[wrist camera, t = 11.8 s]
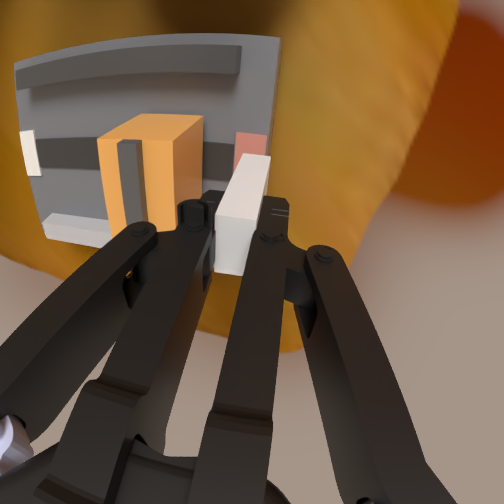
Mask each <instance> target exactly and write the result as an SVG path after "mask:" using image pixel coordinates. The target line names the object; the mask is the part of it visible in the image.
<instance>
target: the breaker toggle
mask: <svg viewBox="0 0 504 504" xmlns="http://www.w3.org/2000/svg"><path fill="white" fill-rule="evenodd" d="M203 120H204V116H200V115H180V114H140V115H138V116H136V117H134V118H132V119H130V120H129V121H127V122H125V123H123V124H121V125H120V126H118V127H116V128H114V129H113V130H111V131H109V132H108V133H106V134H104V135H103V136H101V137H99V138H98V139H97V144H98V153H99V162H100V170H101V177H102V184H103V190H104V197H105V203H106V209H107V214H108V220H109V225H110V230H111V235H112V238H114V237H115V236H116V235H117V234H118V233H119V232H121V231H122V230H123V229H124V228H125V227H127V226H128V225H130V224H132V223H135V222H139V221H140V222H141V221H146V222H151V223H153V224H154V225H155V226H156V228H157V232H160V231H171V230H175V229H176V227H177V225H178V216H177V205H178V204H179V203H180V202H182V201H185V200H189V199H200V198H201V196H202V154H203Z"/></svg>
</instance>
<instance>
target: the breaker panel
mask: <svg viewBox="0 0 504 504" xmlns="http://www.w3.org/2000/svg"><path fill="white" fill-rule="evenodd" d="M282 44H283V39H281V38H280V37H271V36H261V35H247V34H227V33H182V34H162V35H149V36H138V37H129V38H121V39H114V40H107V41H101V42H95V43H90V44H84V45H79V46H75V47H70V48H66V49H61V50H57V51H53V52H49V53H45V54H42V55H38V56H35V57H31V58H28V59H25V60H21V61H18V62H15V63H14V77H15V91H16V101H17V110H18V118H19V126H20V138H21V144H22V150H23V155H24V160H25V165H26V170H27V175H28V176H29V179H30V184H31V188H32V192H33V196H34V200H35V203H36V207H37V211H38V214H39V218H40V221H41V224H42V228H43V231H44V232H45V234H46V237H47V238H49V239H54V240H59V241H65V242H70V243H75V244H81V245H86V246H92V247H97V248H102V247H103V246H104V245H105V244H106V243H108V242H109V241H110V240H111V239H112V235H111V230H110V225H109V220H108V214H107V209H106V203H105V197H104V190H103V184H102V177H101V170H100V162H99V153H98V144H97V139H98V138H99V137H101V136H103V135H104V134H106V133H108V132H109V131H111V130H113V129H114V128H116V127H118V126H120V125H121V124H123V123H125V122H127V121H129V120H130V119H132V118H134V117H136V116H138V115H140V114H180V115H200V116H204V120H203V154H202V194H203V193H205V192H207V191H208V190H219V191H226V189H227V187H228V185H229V182H230V180H231V178H232V176H233V174H234V172H235V169H236V167H237V165H238V163H239V161H240V159H241V157H242V155H243V153H247V154H256V155H264V156H269V155H270V147H271V139H272V130H273V122H274V113H275V105H276V96H277V87H278V79H279V70H280V61H281V53H282ZM213 267H214V265H213Z"/></svg>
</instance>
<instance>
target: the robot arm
mask: <svg viewBox="0 0 504 504" xmlns="http://www.w3.org/2000/svg"><path fill="white" fill-rule="evenodd" d="M270 161H271V156H264V155H256V154H247V153H243V155H242V157H241V159H240V161H239V163H238V165H237V167H236V169H235V172H234V174H233V176H232V178H231V180H230V182H229V185H228V187H227V189H226V191H219V190H208V191H207V192H205V193H203V194H202V196H201V198H200V199H189V200H185V201H182V202H180V203H179V204H178V205H177V216H178V225H177V227H176V229H175V230H171V231H160V232H157V228H156V226H155V225H154V224H153V223H151V222H146V221H141V222H140V221H139V222H135V223H132V224H130V225H128V226H127V227H125V228H124V229H123V230H122V231H121V232H119V233H118V234H117V235H116V236H115V237H114V238H112V239H111V240H110V241H109V242H108V243H106V244H105V245H104V246H103V247H102V248H101V249H99V250H98V251H97V252H96V253H95V254H94V255H93V256H92V257H90V258H89V259H88V260H87V261H86V262H85V263H84V264H83V265H81V266H80V267H79V268H78V269H77V270H76V271H75V272H74V273H73V274H72V275H71V276H69V277H68V278H67V279H66V280H65V281H64V282H63V283H62V284H61V285H60V286H59V287H58V288H57V289H56V290H55V291H54V292H53V293H51V295H49V296H48V297H47V298H46V299H45V300H44V301H43V302H42V303H41V304H40V305H39V306H38V307H37V308H36V309H35V310H34V311H33V312H32V313H31V314H30V315H29V316H28V317H27V319H25V321H24V322H23V323H22V324H21V325H20V326H19V327H18V328H17V329H16V330H15V331H14V332H13V333H12V334H11V335H10V336H9V338H8V339H7V340H6V341H5V342H4V343H3V344H2V345H1V346H0V504H291V503H290V502H289V501H288V499H287V498H286V497H285V495H284V494H283V493H282V492H281V491H280V490H279V489H278V488H277V487H276V486H275V485H274V484H273V483H272V482H270V481H269V480H267V473H268V466H269V457H270V450H271V442H272V432H273V421H272V411H273V403H274V394H275V385H276V376H277V367H278V357H279V347H280V336H281V325H282V314H283V303H284V299H285V300H287V301H289V302H292V303H294V311H295V314H296V318H297V322H298V326H299V330H300V334H301V337H302V341H303V345H304V349H305V353H306V357H307V361H308V364H309V369H310V373H311V377H312V381H313V385H314V389H315V393H316V397H317V401H318V406H319V410H320V414H321V418H322V422H323V427H324V431H325V435H326V439H327V443H328V447H329V452H330V457H331V461H332V465H333V470H334V474H335V479H336V482H337V486H338V490H339V493H340V496H341V498H342V501H343V503H344V504H457V503H456V501H455V500H454V499H453V498H452V496H451V495H450V493H449V492H448V491H447V490H446V488H445V487H444V486H443V484H442V483H441V482H440V480H439V479H438V478H437V476H436V475H435V474H434V473H433V471H432V470H431V468H430V467H429V466H428V465H427V463H426V461H425V458H424V455H423V452H422V449H421V446H420V443H419V440H418V437H417V434H416V431H415V428H414V426H413V423H412V420H411V417H410V414H409V412H408V409H407V406H406V403H405V401H404V398H403V395H402V393H401V390H400V388H399V385H398V382H397V380H396V377H395V375H394V372H393V370H392V367H391V365H390V363H389V360H388V358H387V355H386V353H385V350H384V348H383V346H382V343H381V341H380V338H379V336H378V334H377V331H376V329H375V327H374V325H373V322H372V320H371V318H370V316H369V314H368V311H367V309H366V307H365V305H364V302H363V300H362V298H361V296H360V294H359V292H358V290H357V287H356V285H355V283H354V281H353V279H352V277H351V275H350V273H349V270H348V268H347V266H346V264H345V262H344V260H343V258H342V256H341V255H340V254H339V252H338V251H336V250H335V249H333V248H331V247H329V246H325V245H314V246H311V247H310V248H308V250H307V251H305V250H303V249H300V248H298V247H296V246H295V245H293V244H292V243H291V242H290V241H289V239H288V236H287V233H288V218H289V217H288V216H289V203H288V202H287V200H286V199H285V198H279V197H272V196H266V195H267V187H268V178H269V170H270ZM213 265H214V272H218V273H225V274H231V275H238V276H243V277H242V282H241V286H240V290H239V294H238V299H237V303H236V307H235V312H234V316H233V320H232V325H231V329H230V333H229V337H228V342H227V346H226V350H225V355H224V359H223V364H222V368H221V372H220V376H219V381H218V385H217V389H216V394H215V399H214V403H213V406H212V409H211V411H210V412H209V414H208V417H207V421H206V424H205V428H204V433H203V437H202V442H201V446H200V450H199V454H198V457H169V456H164V455H163V452H164V448H165V433H166V427H167V423H168V420H169V416H170V413H171V410H172V406H173V403H174V399H175V396H176V393H177V389H178V386H179V383H180V379H181V376H182V373H183V369H184V366H185V363H186V359H187V356H188V353H189V350H190V347H191V343H192V340H193V337H194V333H195V331H196V327H197V324H198V321H199V318H200V315H201V312H202V309H203V305H204V302H205V299H206V296H207V293H208V290H209V287H210V284H211V281H212V268H213ZM129 271H130V272H131V273H130V274H129V275H128V276H126V274H127V273H128V272H129ZM115 342H116V343H115ZM114 343H115V345H114V347H113V349H112V351H111V353H110V356H109V357H108V360H107V362H106V364H105V366H104V368H103V371H102V373H101V375H100V376H99V378H97V379H95V380H89V381H88V382H87V383H85V385H84V386H83V388H82V390H81V392H80V394H79V396H78V398H77V401H76V403H75V405H74V408H73V410H72V412H71V415H70V417H69V419H68V422H67V424H66V427H65V430H64V432H63V434H62V437H61V439H60V441H59V442H58V443H56V444H54V445H53V446H51V447H49V448H48V449H46V450H44V451H43V452H41V453H39V454H38V455H36V456H34V457H33V454H34V451H33V448H32V447H31V446H30V443H31V442H32V441H34V440H35V439H37V438H38V437H39V436H40V435H41V434H42V433H43V432H44V431H45V430H46V429H47V428H48V427H49V426H50V424H51V423H52V422H53V421H54V420H55V418H56V417H57V416H58V415H59V413H60V412H61V410H62V409H63V408H64V406H65V405H66V404H67V403H68V401H69V400H70V399H71V397H72V396H73V395H74V393H75V392H76V391H77V390H78V388H79V387H80V386H81V384H82V383H83V382H84V380H85V379H86V378H87V377H88V375H89V374H90V373H91V372H92V370H93V369H94V368H95V366H96V365H97V364H98V363H99V361H100V360H101V359H102V358H103V356H104V355H105V354H106V353H107V351H108V350H109V349H110V348H111V346H112V345H113V344H114ZM24 461H25V462H24Z"/></svg>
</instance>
